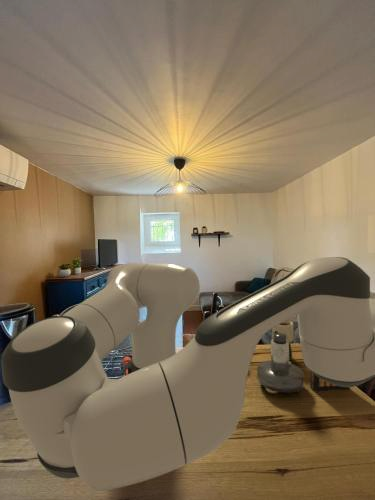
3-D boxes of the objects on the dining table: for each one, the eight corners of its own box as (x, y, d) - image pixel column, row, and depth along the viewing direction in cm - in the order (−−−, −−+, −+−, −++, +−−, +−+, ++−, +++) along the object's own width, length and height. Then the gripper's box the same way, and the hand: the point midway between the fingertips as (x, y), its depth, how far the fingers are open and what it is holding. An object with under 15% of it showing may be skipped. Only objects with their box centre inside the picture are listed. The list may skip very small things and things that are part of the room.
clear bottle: (277, 377, 73) (276, 339, 72) (267, 368, 78) (267, 332, 77) (292, 374, 74) (292, 337, 73) (282, 365, 79) (282, 331, 78)
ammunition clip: (345, 385, 76) (346, 346, 75) (349, 389, 74) (350, 348, 73) (310, 387, 75) (310, 347, 75) (313, 391, 73) (313, 350, 73)
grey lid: (272, 403, 69) (272, 385, 68) (249, 377, 81) (249, 361, 81) (314, 395, 72) (314, 377, 71) (286, 371, 84) (286, 356, 84)
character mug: (268, 350, 99) (267, 317, 98) (286, 350, 99) (286, 317, 98) (279, 365, 88) (278, 328, 87) (299, 364, 88) (299, 327, 87)
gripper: (290, 335, 46) (253, 312, 60) (380, 322, 51) (327, 304, 64) (290, 300, 46) (253, 285, 59) (381, 291, 51) (327, 279, 64)
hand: (292, 295), depth 62 cm, fingers open, 8 cm apart
